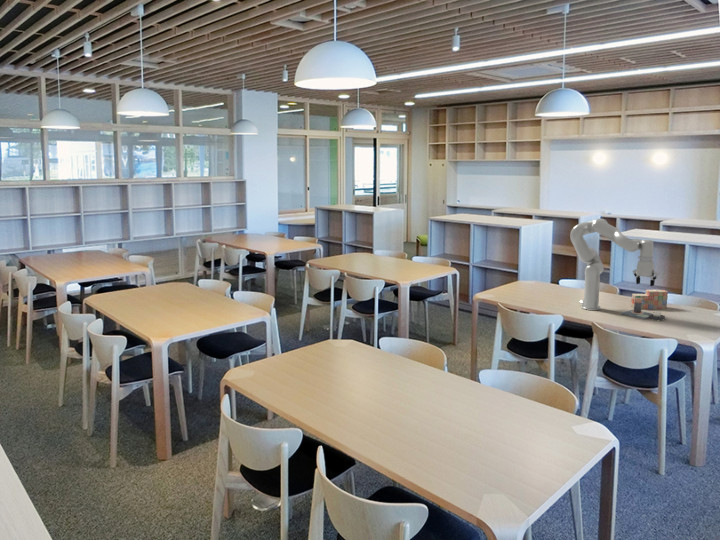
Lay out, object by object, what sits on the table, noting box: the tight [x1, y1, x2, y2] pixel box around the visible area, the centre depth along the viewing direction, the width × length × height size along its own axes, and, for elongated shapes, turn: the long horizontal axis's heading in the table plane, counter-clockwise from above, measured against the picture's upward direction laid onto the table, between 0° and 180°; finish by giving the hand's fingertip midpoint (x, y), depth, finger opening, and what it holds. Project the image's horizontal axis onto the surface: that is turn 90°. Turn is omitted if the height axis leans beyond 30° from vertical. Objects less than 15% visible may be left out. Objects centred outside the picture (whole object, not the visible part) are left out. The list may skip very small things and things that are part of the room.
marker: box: [633, 298, 642, 313], centre depth 393 cm, size 5×5×9 cm
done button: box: [652, 311, 662, 317], centre depth 380 cm, size 5×5×2 cm
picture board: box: [620, 309, 653, 320], centre depth 391 cm, size 17×14×1 cm
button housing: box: [648, 313, 666, 321], centre depth 380 cm, size 7×7×2 cm
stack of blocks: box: [630, 289, 669, 310], centre depth 408 cm, size 21×6×12 cm, turn 85°
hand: (645, 284), depth 387 cm, fingers open, 9 cm apart
